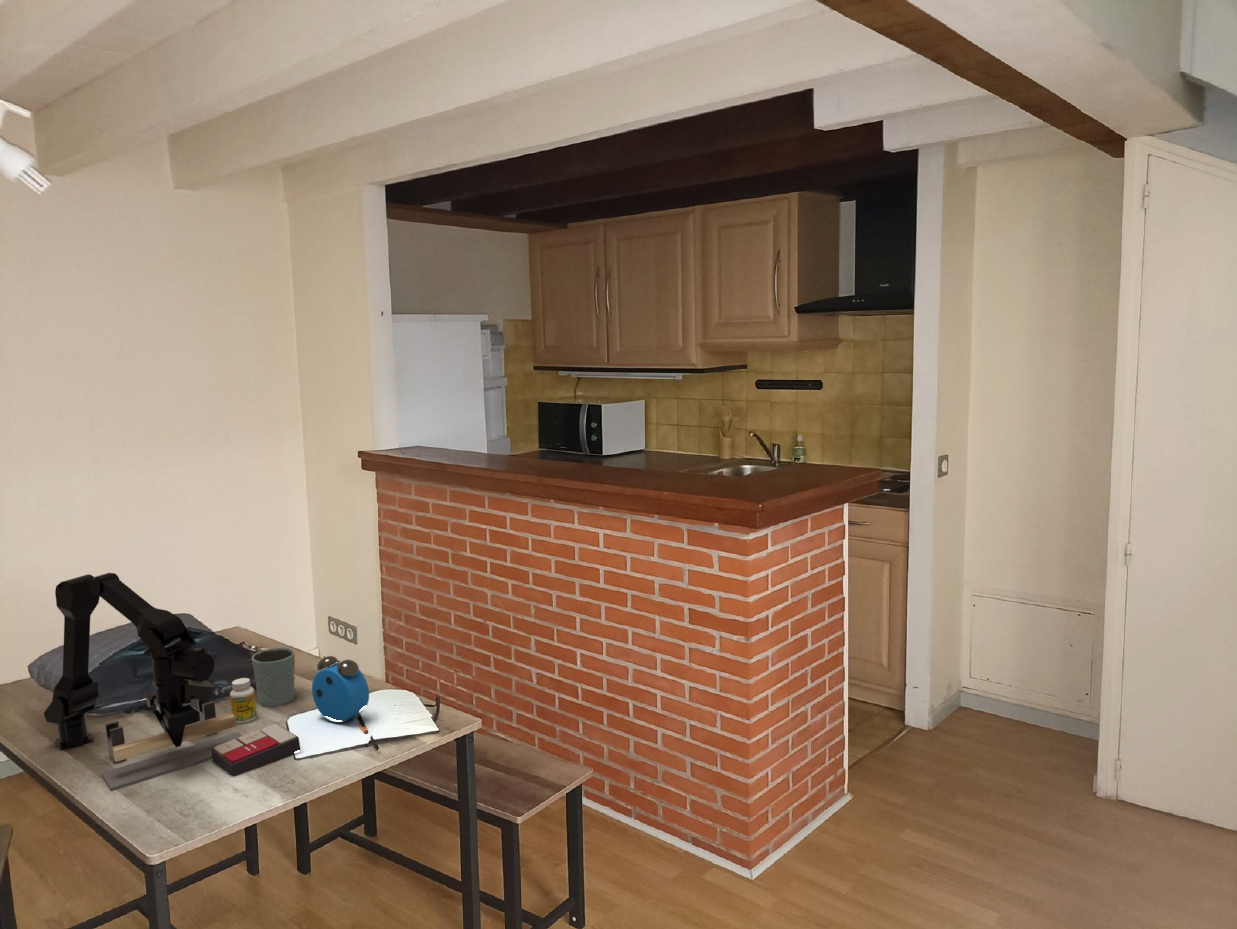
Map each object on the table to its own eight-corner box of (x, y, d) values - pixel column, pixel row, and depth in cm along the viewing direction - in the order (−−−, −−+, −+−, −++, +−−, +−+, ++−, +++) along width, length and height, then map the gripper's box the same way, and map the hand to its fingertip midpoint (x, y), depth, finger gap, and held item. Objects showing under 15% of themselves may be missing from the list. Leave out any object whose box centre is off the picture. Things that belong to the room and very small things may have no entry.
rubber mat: (101, 775, 191) (101, 772, 191) (238, 734, 209) (237, 731, 209) (111, 790, 184) (110, 788, 184) (251, 746, 202) (251, 744, 202)
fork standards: (109, 756, 200) (105, 724, 199) (211, 726, 214) (207, 696, 213) (114, 764, 196) (110, 731, 195) (217, 733, 210) (214, 702, 209)
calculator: (209, 746, 196) (276, 720, 206) (212, 765, 196) (279, 738, 207) (230, 762, 188) (299, 734, 198) (233, 781, 189) (301, 752, 199)
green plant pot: (269, 691, 234) (264, 647, 232) (306, 692, 232) (302, 647, 231) (248, 708, 224) (243, 661, 222) (286, 709, 223) (282, 662, 221)
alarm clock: (372, 719, 215) (367, 658, 212) (352, 729, 209) (347, 667, 207) (332, 709, 221) (327, 650, 219) (312, 719, 216) (307, 658, 214)
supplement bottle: (254, 712, 221) (250, 675, 220) (259, 720, 217) (255, 681, 215) (230, 718, 218) (226, 680, 217) (235, 726, 214) (231, 687, 212)
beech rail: (113, 758, 189) (111, 747, 189) (232, 723, 205) (230, 713, 204) (115, 762, 188) (114, 751, 187) (235, 726, 203) (234, 716, 203)
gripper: (221, 677, 192) (229, 746, 194) (195, 655, 206) (202, 720, 208) (164, 691, 185) (173, 764, 187) (141, 668, 199) (149, 735, 201)
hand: (176, 744), depth 196 cm, fingers closed on beech rail, 2 cm apart
